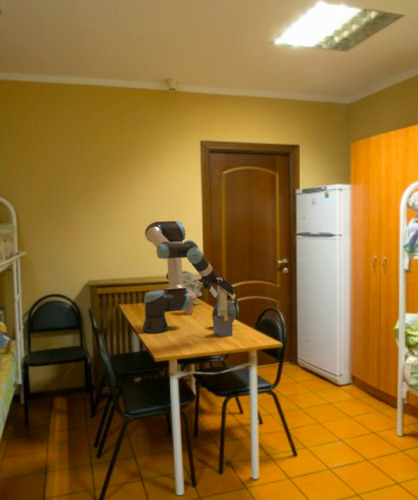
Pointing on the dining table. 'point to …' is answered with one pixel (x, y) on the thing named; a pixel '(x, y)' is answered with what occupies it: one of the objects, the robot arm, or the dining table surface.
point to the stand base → (222, 326)
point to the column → (222, 302)
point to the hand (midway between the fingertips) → (225, 296)
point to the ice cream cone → (191, 303)
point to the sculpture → (191, 283)
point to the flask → (230, 310)
